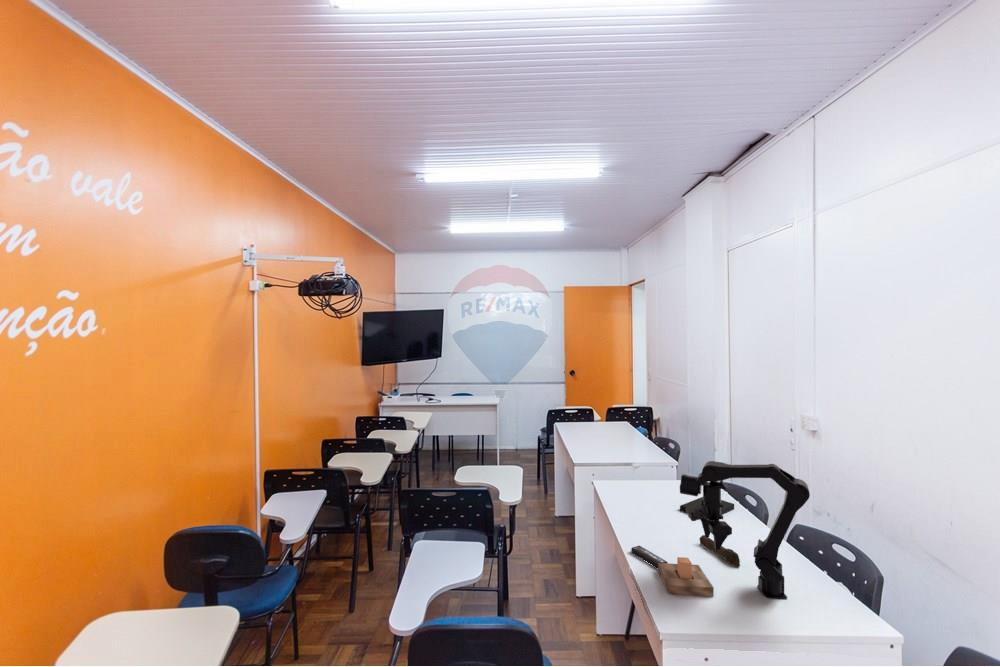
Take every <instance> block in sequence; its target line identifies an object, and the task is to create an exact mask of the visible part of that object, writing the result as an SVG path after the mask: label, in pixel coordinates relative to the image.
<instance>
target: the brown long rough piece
mask: <svg viewBox="0 0 1000 667" xmlns="http://www.w3.org/2000/svg"><path fill="white" fill-rule="evenodd" d="M699 543H700V545H702V544H703V545H702V546H703V547H706V548H708V549H709V550H711V551H712V552H714V553H715V554H717V555H719V556H721V557H722V558H723V559H724V560H725V562H727V563H729V564H730V565H732V566H735V567H737V568H740V566H741V564H740V563H741V560H740V558H739V557H740V556H739V554H738V553H737V552H735V550H733V549H731V548H726V547H724V546H723V545H722V546H721V547H720V549H719V550H716V549H715V544H714V539H711V538H710V537H705V534H702V535H701V536H700V537H699Z"/></svg>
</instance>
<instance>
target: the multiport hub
mask: <svg viewBox="0 0 1000 667" xmlns="http://www.w3.org/2000/svg"><path fill="white" fill-rule="evenodd" d="M630 550H631V552H632V553H631V554H632V555H634V554H635V555H634V556H636V557H637V556H638V558H639V557H640V558H642V559H643V560H642V559H641V560H642V561H644V560H645V561H647V562H648V563H650V564H652V565H653V566H655V567H656V568H658V563H669V562H668V561H666V560H665V559H663V558H662V557H660V556H658V555H656V554H654V553H653V552H652V551H650V550H648V549H646V548H645V547H642V546H641V545H637V546H632V547H631V548H630ZM640 558H639V559H640ZM645 561H644V562H645ZM647 562H646V563H647ZM648 563H647V564H648ZM650 564H649V565H650ZM652 565H651V566H652ZM653 566H652V567H653ZM655 567H654V568H655ZM656 568H655V569H656Z"/></svg>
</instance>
